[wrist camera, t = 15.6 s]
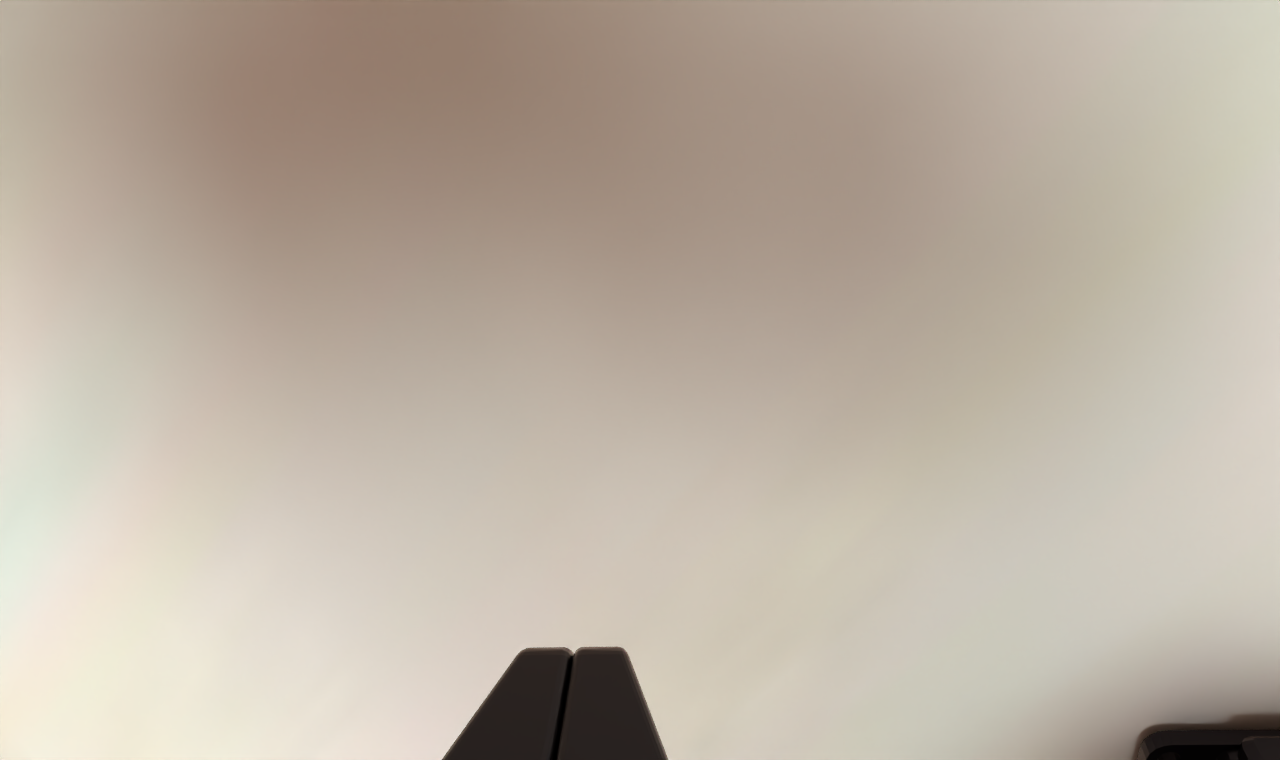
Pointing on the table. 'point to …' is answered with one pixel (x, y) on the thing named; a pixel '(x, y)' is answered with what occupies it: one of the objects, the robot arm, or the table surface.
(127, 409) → the table surface
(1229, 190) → the table surface
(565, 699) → the robot arm
